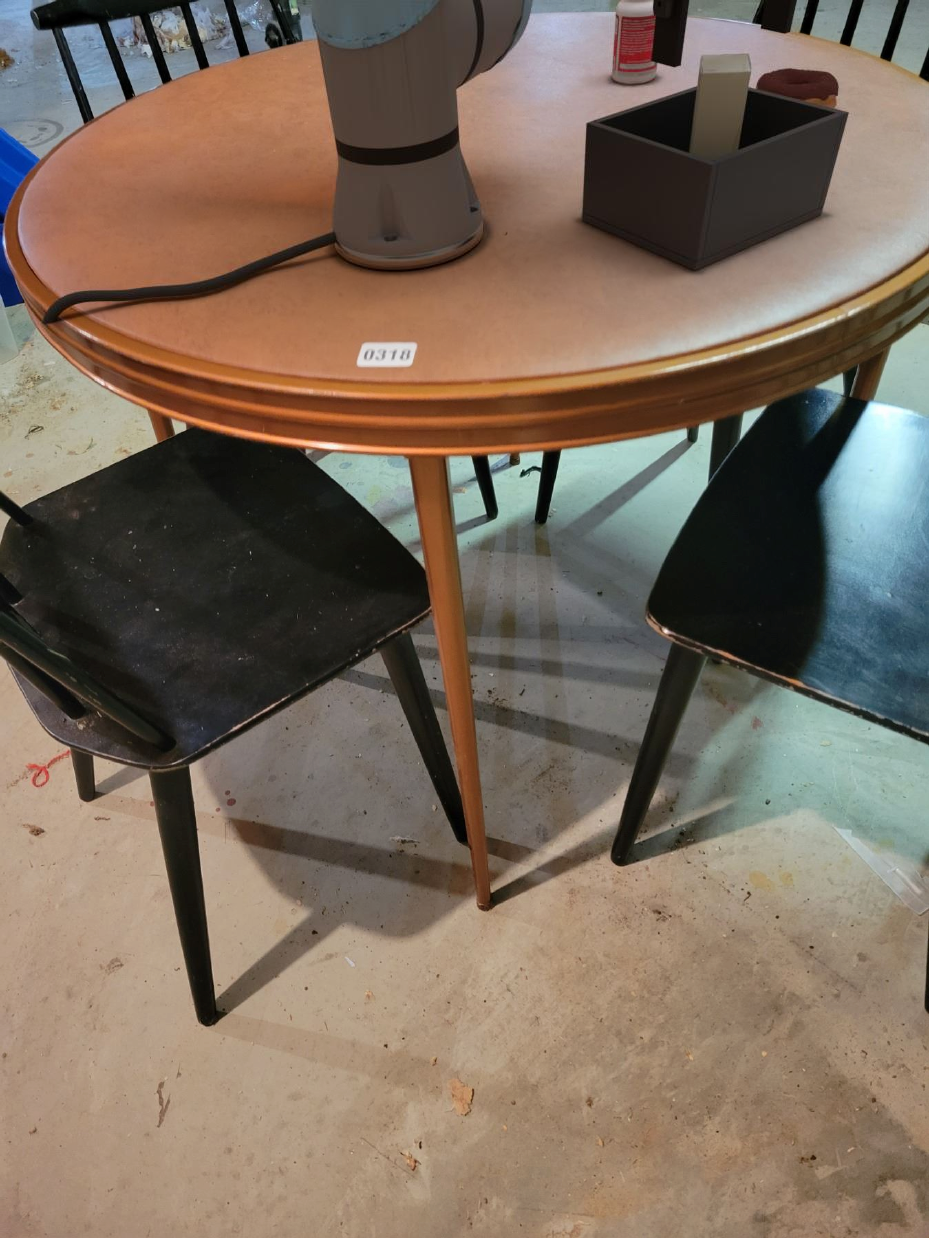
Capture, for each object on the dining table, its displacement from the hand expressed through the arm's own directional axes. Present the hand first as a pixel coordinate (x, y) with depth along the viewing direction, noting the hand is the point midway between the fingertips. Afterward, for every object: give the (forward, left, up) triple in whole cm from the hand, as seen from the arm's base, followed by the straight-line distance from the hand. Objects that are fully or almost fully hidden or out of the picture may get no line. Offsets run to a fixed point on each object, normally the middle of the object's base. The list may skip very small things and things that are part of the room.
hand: (722, 47), depth 67 cm
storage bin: (0, 0, -14) cm, 14 cm away
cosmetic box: (+1, 0, -14) cm, 14 cm away
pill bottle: (+28, +39, -14) cm, 50 cm away
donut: (+31, +14, -14) cm, 37 cm away
